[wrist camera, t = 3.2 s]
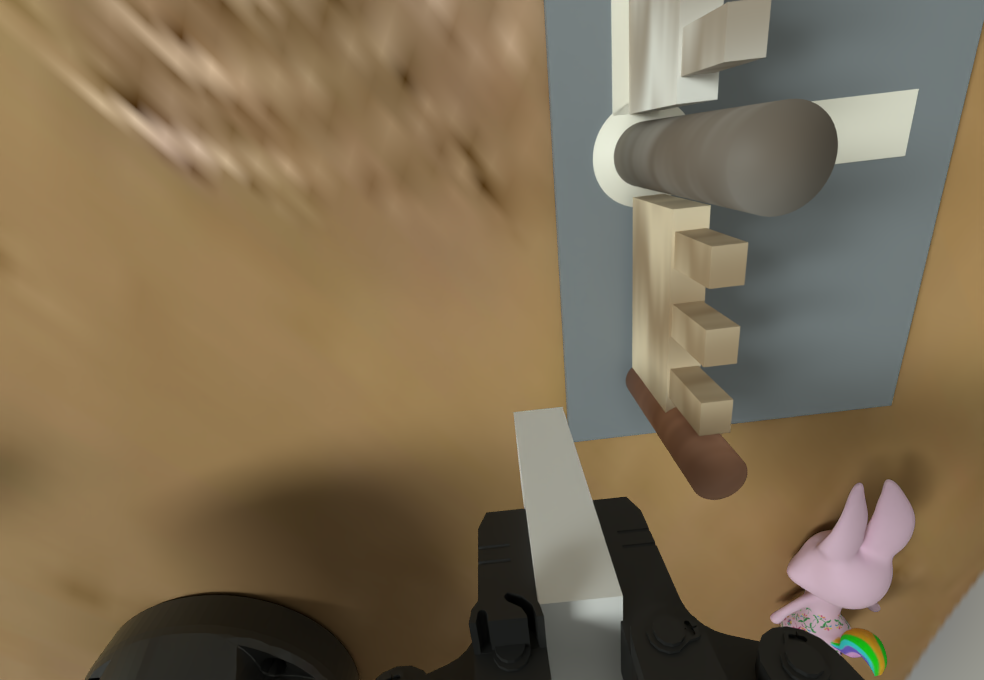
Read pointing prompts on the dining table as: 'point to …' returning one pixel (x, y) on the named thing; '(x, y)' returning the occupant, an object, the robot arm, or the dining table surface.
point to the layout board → (771, 240)
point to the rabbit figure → (849, 572)
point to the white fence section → (717, 113)
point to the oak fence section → (685, 337)
